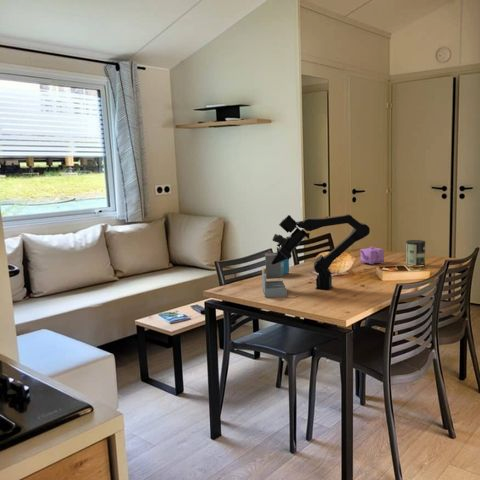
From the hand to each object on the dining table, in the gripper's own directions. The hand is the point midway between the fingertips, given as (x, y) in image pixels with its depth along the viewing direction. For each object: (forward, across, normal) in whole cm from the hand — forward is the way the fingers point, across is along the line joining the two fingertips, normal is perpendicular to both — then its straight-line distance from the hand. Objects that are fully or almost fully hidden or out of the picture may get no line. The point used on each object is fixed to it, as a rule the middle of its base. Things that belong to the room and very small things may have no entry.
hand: (272, 263), depth 247 cm
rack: (+9, +7, +9) cm, 14 cm away
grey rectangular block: (+5, 0, +5) cm, 7 cm away
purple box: (-33, -56, +52) cm, 83 cm away
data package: (+6, -33, +13) cm, 36 cm away
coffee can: (-49, -45, +68) cm, 95 cm away
